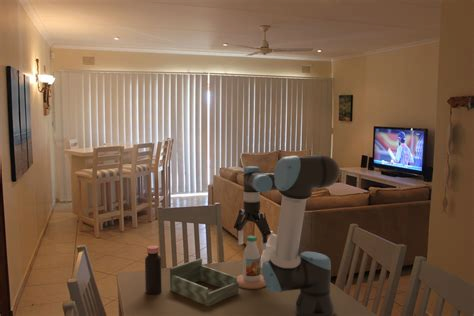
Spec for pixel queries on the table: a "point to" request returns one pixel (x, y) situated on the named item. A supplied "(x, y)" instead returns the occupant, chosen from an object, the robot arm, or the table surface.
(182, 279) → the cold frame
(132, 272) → the table surface
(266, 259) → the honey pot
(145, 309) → the table surface
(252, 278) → the milk bottle
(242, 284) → the pink round disc
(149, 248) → the vinegar
